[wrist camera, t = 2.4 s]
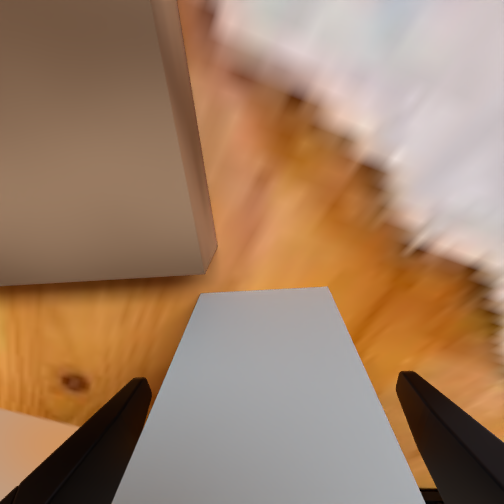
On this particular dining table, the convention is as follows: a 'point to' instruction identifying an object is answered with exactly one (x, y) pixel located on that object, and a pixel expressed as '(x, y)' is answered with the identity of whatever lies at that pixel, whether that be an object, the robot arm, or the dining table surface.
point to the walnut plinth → (98, 144)
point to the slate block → (267, 412)
